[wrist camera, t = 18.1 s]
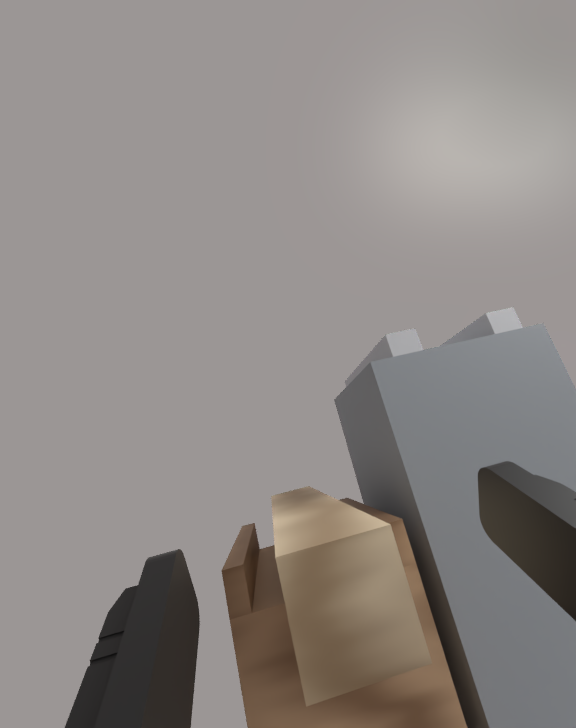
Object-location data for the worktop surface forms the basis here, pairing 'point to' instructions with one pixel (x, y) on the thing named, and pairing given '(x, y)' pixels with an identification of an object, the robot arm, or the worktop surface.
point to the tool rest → (279, 664)
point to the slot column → (472, 500)
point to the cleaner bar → (343, 595)
